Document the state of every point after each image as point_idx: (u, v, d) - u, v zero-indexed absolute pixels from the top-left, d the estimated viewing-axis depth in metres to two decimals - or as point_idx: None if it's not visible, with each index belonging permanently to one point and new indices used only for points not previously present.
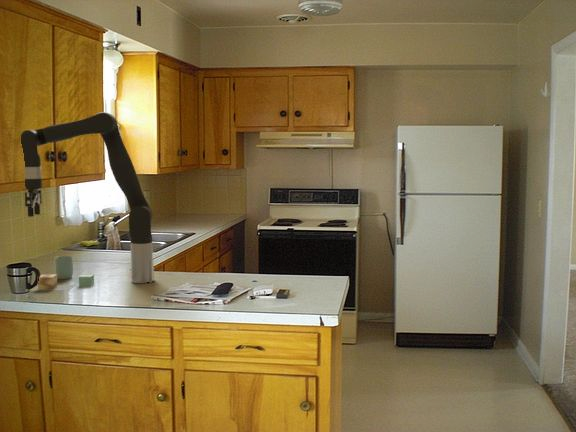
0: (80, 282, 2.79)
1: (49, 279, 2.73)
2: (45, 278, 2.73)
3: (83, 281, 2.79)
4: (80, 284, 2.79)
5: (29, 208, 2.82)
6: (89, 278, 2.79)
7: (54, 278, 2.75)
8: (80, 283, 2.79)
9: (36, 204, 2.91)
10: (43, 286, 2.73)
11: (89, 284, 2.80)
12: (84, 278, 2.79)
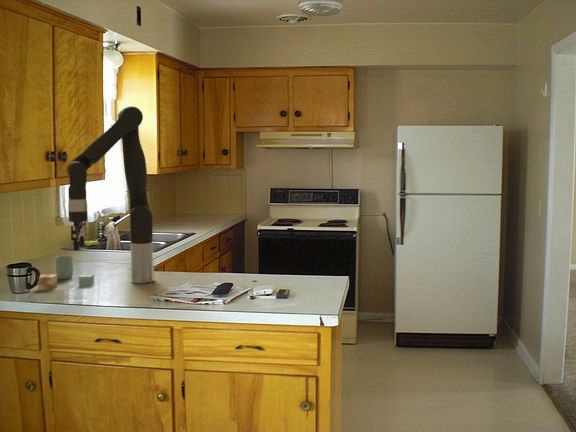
0: (80, 282, 2.79)
1: (49, 279, 2.73)
2: (45, 278, 2.73)
3: (83, 281, 2.79)
4: (80, 284, 2.79)
5: (75, 242, 2.75)
6: (89, 278, 2.79)
7: (54, 278, 2.75)
8: (80, 283, 2.79)
9: (81, 236, 2.84)
10: (43, 286, 2.73)
11: (89, 284, 2.80)
12: (84, 278, 2.79)
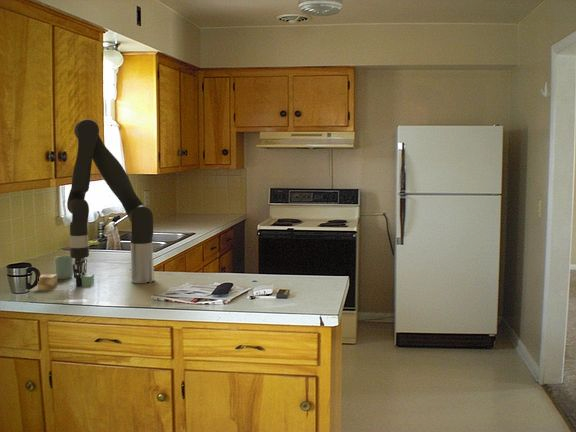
0: None
1: (49, 279, 2.73)
2: (45, 278, 2.73)
3: (83, 281, 2.79)
4: None
5: (77, 279, 2.78)
6: (89, 278, 2.79)
7: (54, 278, 2.75)
8: None
9: (81, 274, 2.84)
10: (43, 286, 2.73)
11: (89, 284, 2.80)
12: (84, 278, 2.79)
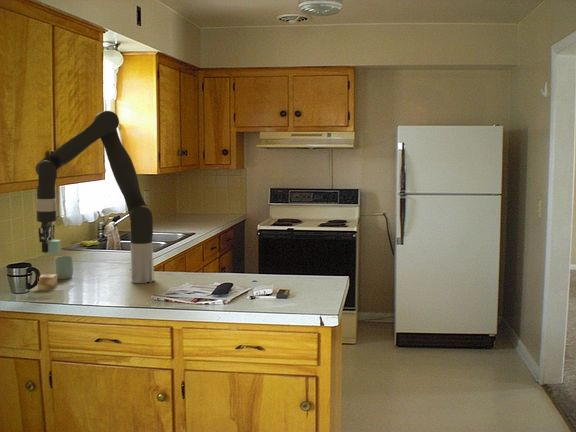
0: None
1: (49, 279, 2.73)
2: (45, 278, 2.73)
3: (49, 246, 2.72)
4: None
5: (43, 244, 2.71)
6: (55, 243, 2.72)
7: (54, 278, 2.75)
8: None
9: (48, 239, 2.77)
10: (43, 286, 2.73)
11: (55, 249, 2.72)
12: (50, 243, 2.72)
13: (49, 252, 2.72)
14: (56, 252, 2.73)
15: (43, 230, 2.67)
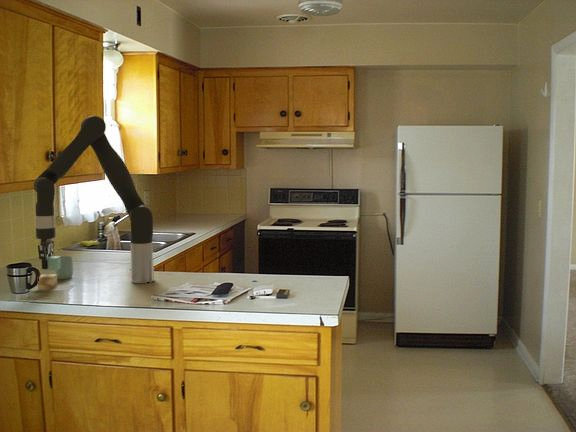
0: None
1: (49, 279, 2.73)
2: (45, 278, 2.73)
3: (49, 262, 2.73)
4: None
5: (43, 261, 2.71)
6: (55, 259, 2.73)
7: (54, 278, 2.75)
8: None
9: None
10: (43, 286, 2.73)
11: (55, 266, 2.73)
12: (50, 259, 2.73)
13: (49, 269, 2.73)
14: (56, 269, 2.73)
15: (42, 247, 2.68)
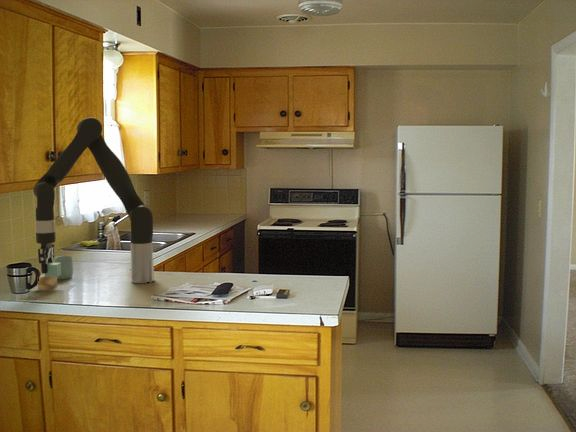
0: None
1: (49, 279, 2.73)
2: (45, 278, 2.73)
3: (49, 269, 2.73)
4: None
5: (43, 265, 2.70)
6: (55, 266, 2.73)
7: (54, 278, 2.75)
8: None
9: (48, 259, 2.78)
10: (43, 286, 2.73)
11: (55, 272, 2.73)
12: (50, 266, 2.73)
13: (49, 275, 2.73)
14: (56, 275, 2.73)
15: (43, 250, 2.68)
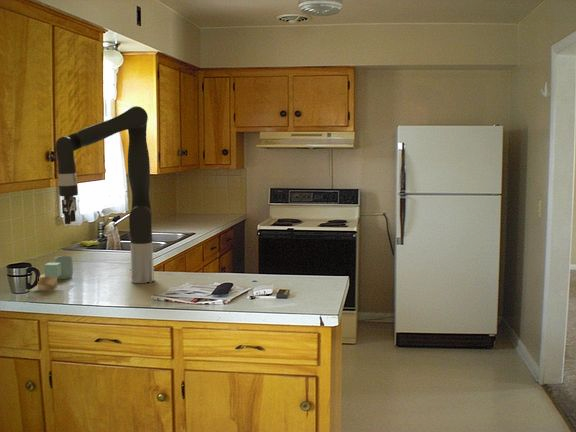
0: (46, 270, 2.73)
1: (49, 279, 2.73)
2: (45, 278, 2.73)
3: (49, 269, 2.73)
4: (46, 272, 2.73)
5: (66, 215, 2.78)
6: (55, 266, 2.73)
7: (54, 278, 2.75)
8: (46, 271, 2.73)
9: (71, 211, 2.88)
10: (43, 286, 2.73)
11: (55, 272, 2.73)
12: (50, 266, 2.73)
13: (49, 275, 2.73)
14: (56, 275, 2.73)
15: (66, 201, 2.76)
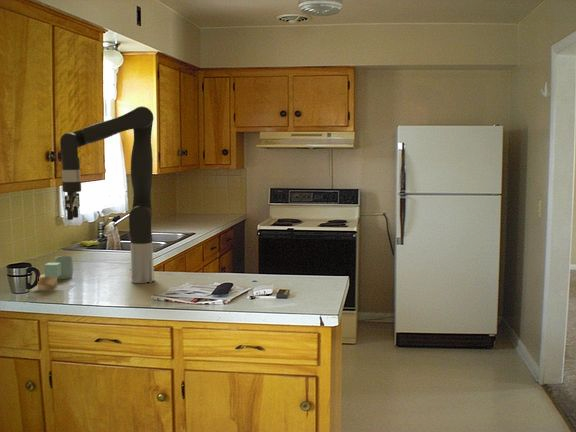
0: (46, 270, 2.73)
1: (49, 279, 2.73)
2: (45, 278, 2.73)
3: (49, 269, 2.73)
4: (46, 272, 2.73)
5: (69, 211, 2.80)
6: (55, 266, 2.73)
7: (54, 278, 2.75)
8: (46, 271, 2.73)
9: (74, 207, 2.89)
10: (43, 286, 2.73)
11: (55, 272, 2.73)
12: (50, 266, 2.73)
13: (49, 275, 2.73)
14: (56, 275, 2.73)
15: (69, 197, 2.78)
